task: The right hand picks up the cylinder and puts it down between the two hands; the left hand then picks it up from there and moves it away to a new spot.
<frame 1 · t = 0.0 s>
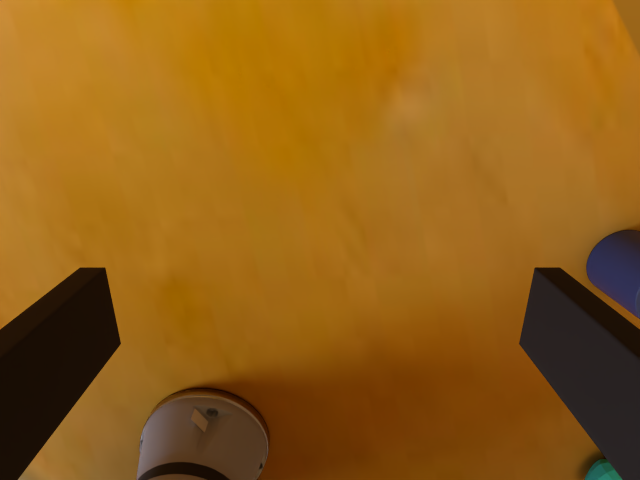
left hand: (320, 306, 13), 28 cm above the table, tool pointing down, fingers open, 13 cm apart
cylinder: (620, 261, 43), on the table
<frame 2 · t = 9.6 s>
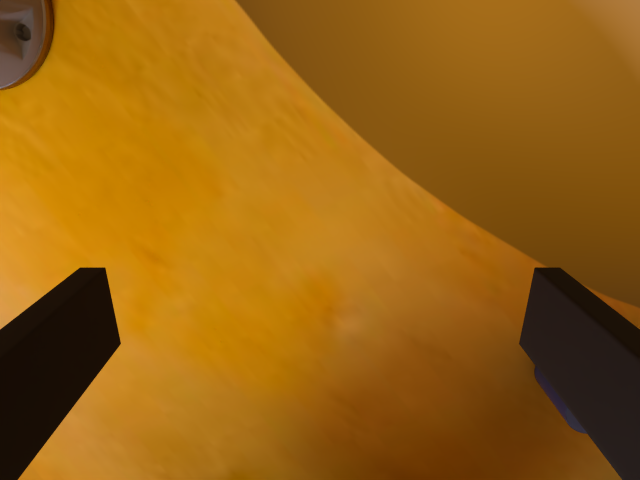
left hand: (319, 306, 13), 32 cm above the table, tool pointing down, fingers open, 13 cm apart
cylinder: (562, 367, 52), on the table, touching right hand
when the right hand's fingers open (2 cm above the table, at t = 18.8 s): cylinder drops 1 cm, on the table.
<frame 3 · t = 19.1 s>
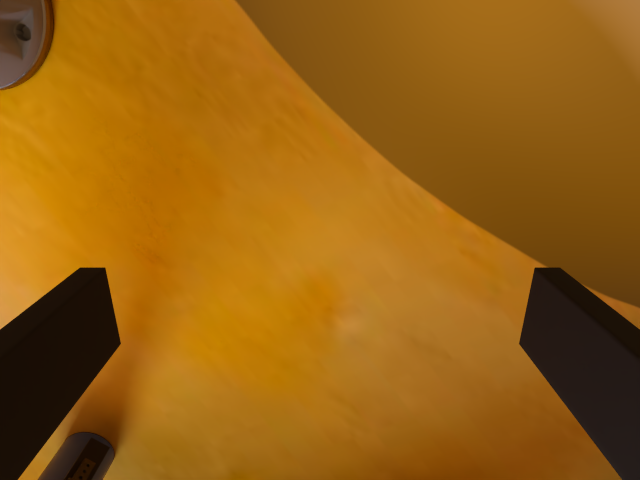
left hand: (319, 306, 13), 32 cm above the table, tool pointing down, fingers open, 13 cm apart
cylinder: (89, 451, 57), on the table
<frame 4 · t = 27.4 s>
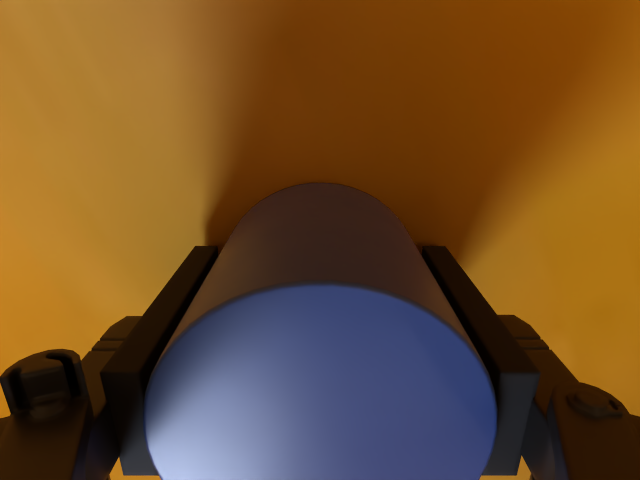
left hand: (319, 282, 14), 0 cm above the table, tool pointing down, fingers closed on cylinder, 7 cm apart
cylinder: (320, 277, 15), on the table, touching left hand
when the left hand's fingers open (2 cm above the table, at t = 42.4 s): cylinder drops 1 cm, on the table.
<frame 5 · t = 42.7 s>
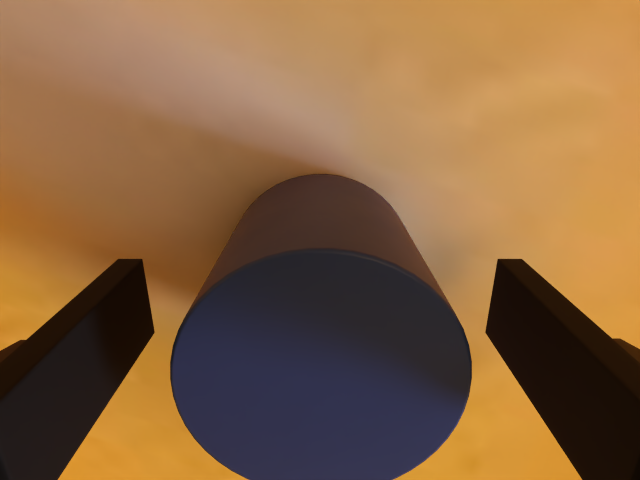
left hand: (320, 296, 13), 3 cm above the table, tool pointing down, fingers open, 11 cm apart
cylinder: (320, 261, 16), on the table
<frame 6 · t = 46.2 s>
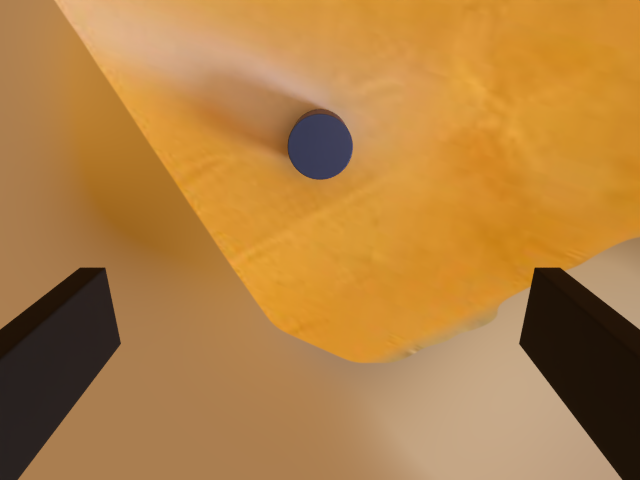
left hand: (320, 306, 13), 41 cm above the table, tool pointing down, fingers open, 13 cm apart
cylinder: (320, 138, 51), on the table
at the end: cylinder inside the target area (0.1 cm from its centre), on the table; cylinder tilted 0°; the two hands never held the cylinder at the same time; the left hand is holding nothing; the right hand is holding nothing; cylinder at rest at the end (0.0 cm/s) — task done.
